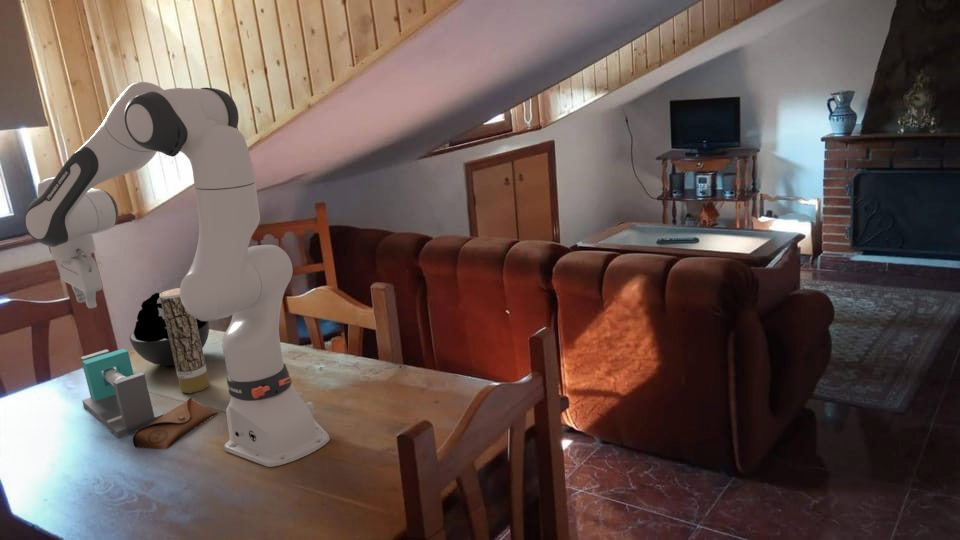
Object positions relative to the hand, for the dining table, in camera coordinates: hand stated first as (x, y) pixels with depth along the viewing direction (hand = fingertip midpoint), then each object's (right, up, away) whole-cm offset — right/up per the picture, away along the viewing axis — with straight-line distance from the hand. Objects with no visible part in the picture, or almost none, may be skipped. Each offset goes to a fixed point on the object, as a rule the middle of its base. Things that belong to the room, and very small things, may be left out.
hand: (87, 304), depth 171 cm
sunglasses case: (+25, -27, -10) cm, 39 cm away
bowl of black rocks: (+9, -17, +30) cm, 35 cm away
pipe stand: (+8, -25, +1) cm, 26 cm away
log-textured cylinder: (+21, -21, +11) cm, 32 cm away
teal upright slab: (+5, -21, +2) cm, 21 cm away
